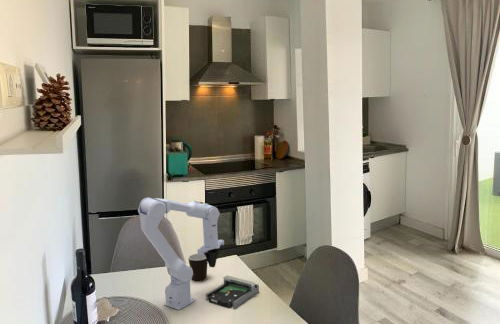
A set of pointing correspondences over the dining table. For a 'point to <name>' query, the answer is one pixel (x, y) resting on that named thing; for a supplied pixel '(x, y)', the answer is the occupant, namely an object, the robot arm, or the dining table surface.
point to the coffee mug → (198, 267)
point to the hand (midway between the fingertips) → (212, 266)
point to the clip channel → (239, 282)
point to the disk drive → (228, 295)
